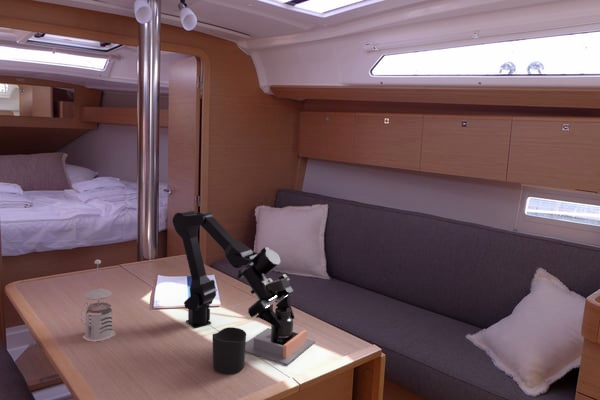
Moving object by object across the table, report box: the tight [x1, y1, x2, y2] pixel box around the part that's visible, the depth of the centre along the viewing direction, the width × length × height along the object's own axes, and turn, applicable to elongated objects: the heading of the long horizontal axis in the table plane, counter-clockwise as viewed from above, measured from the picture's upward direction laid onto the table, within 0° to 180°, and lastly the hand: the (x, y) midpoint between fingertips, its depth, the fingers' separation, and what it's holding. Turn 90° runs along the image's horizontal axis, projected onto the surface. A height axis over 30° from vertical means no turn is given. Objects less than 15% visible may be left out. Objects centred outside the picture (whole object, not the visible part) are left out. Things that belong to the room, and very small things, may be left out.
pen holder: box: [212, 326, 247, 376], centre depth 135 cm, size 9×9×10 cm
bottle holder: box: [245, 327, 316, 367], centre depth 150 cm, size 18×18×5 cm
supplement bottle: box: [270, 307, 294, 345], centre depth 149 cm, size 7×7×12 cm
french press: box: [80, 259, 115, 340], centre depth 150 cm, size 10×12×25 cm
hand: (287, 323), depth 148 cm, fingers open, 8 cm apart
